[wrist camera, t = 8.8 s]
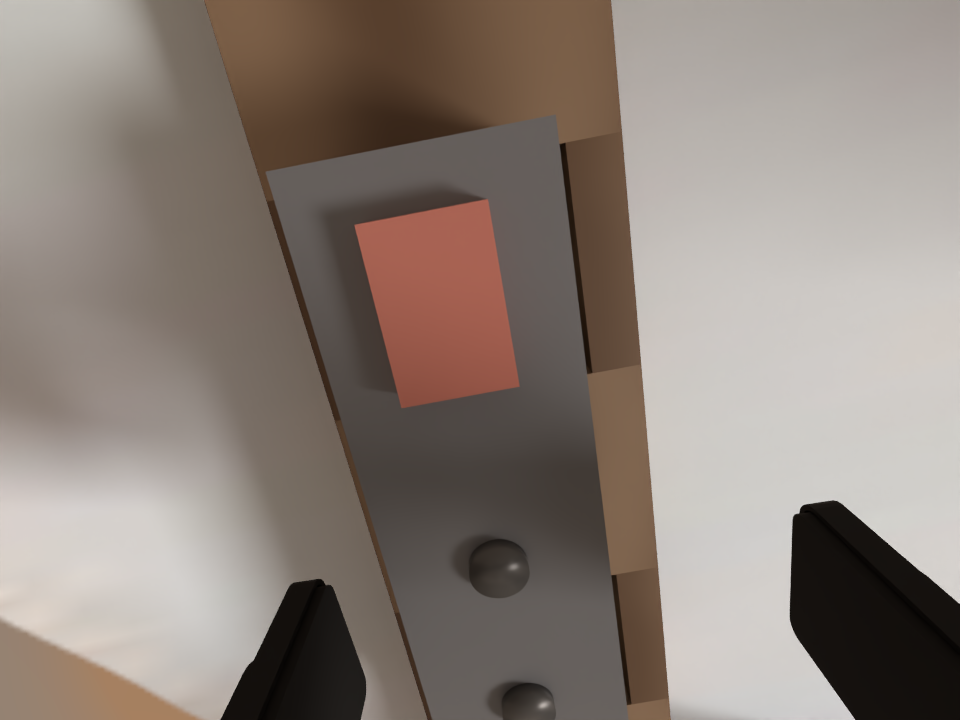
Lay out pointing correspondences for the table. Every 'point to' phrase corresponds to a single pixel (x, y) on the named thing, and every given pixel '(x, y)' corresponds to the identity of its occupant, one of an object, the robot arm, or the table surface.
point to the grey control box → (467, 410)
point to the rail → (457, 109)
